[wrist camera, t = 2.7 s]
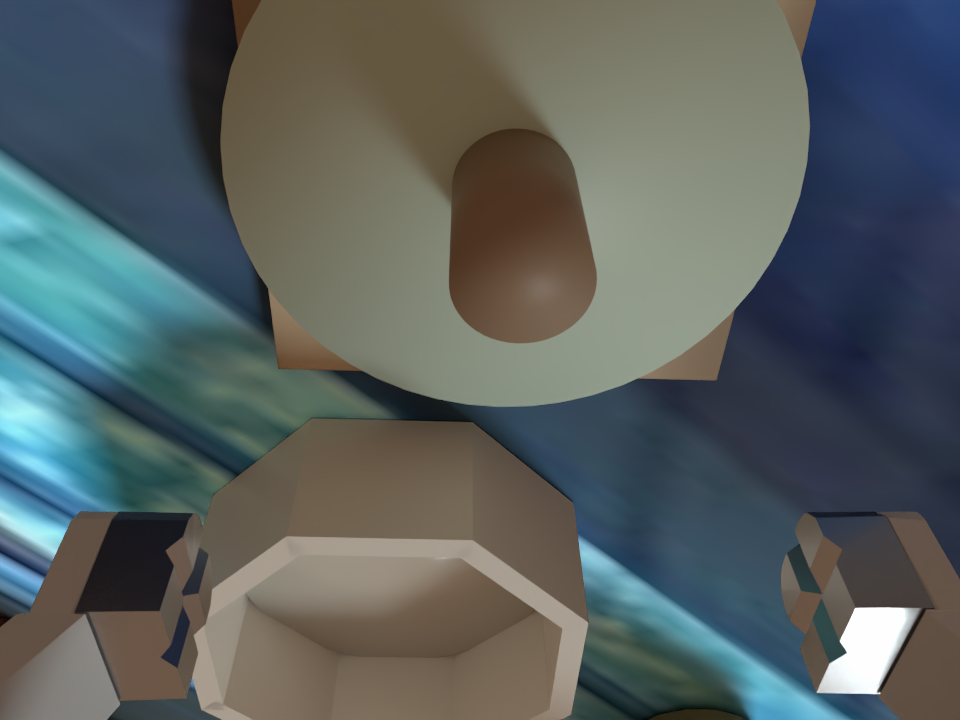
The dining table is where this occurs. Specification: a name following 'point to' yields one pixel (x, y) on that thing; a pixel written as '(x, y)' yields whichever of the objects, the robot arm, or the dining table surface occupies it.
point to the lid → (513, 181)
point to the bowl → (391, 581)
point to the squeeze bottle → (697, 715)
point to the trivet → (691, 365)
